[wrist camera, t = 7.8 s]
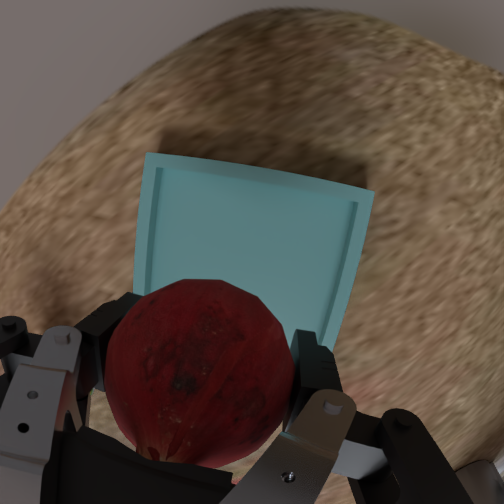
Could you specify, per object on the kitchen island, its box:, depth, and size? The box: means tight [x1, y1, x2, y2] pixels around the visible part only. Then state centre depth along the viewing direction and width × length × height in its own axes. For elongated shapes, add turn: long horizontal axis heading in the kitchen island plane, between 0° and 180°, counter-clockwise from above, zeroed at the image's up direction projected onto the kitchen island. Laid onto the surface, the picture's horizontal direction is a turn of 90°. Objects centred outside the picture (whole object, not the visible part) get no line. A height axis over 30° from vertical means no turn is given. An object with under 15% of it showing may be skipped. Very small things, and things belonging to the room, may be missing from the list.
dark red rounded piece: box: [104, 279, 296, 468], centre depth 8 cm, size 6×6×8 cm
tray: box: [133, 152, 375, 352], centre depth 18 cm, size 13×13×2 cm
